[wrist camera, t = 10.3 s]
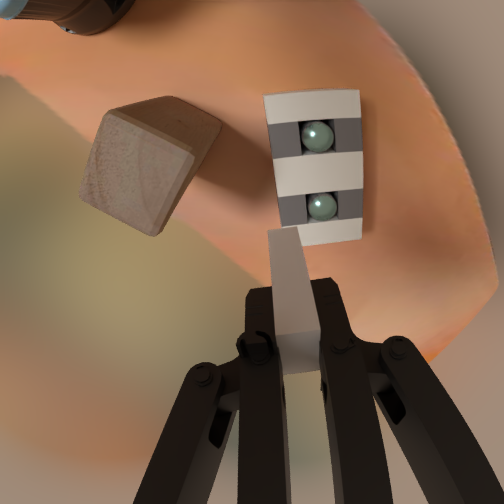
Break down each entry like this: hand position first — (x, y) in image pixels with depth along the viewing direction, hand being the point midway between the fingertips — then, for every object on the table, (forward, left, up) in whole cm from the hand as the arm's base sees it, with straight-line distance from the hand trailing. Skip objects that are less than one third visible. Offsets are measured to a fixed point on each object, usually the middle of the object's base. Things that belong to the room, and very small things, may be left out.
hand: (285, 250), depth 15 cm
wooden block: (-3, -13, -30) cm, 33 cm away
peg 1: (-1, +6, -30) cm, 31 cm away
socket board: (+4, +6, -30) cm, 31 cm away
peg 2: (+9, +6, -30) cm, 32 cm away
